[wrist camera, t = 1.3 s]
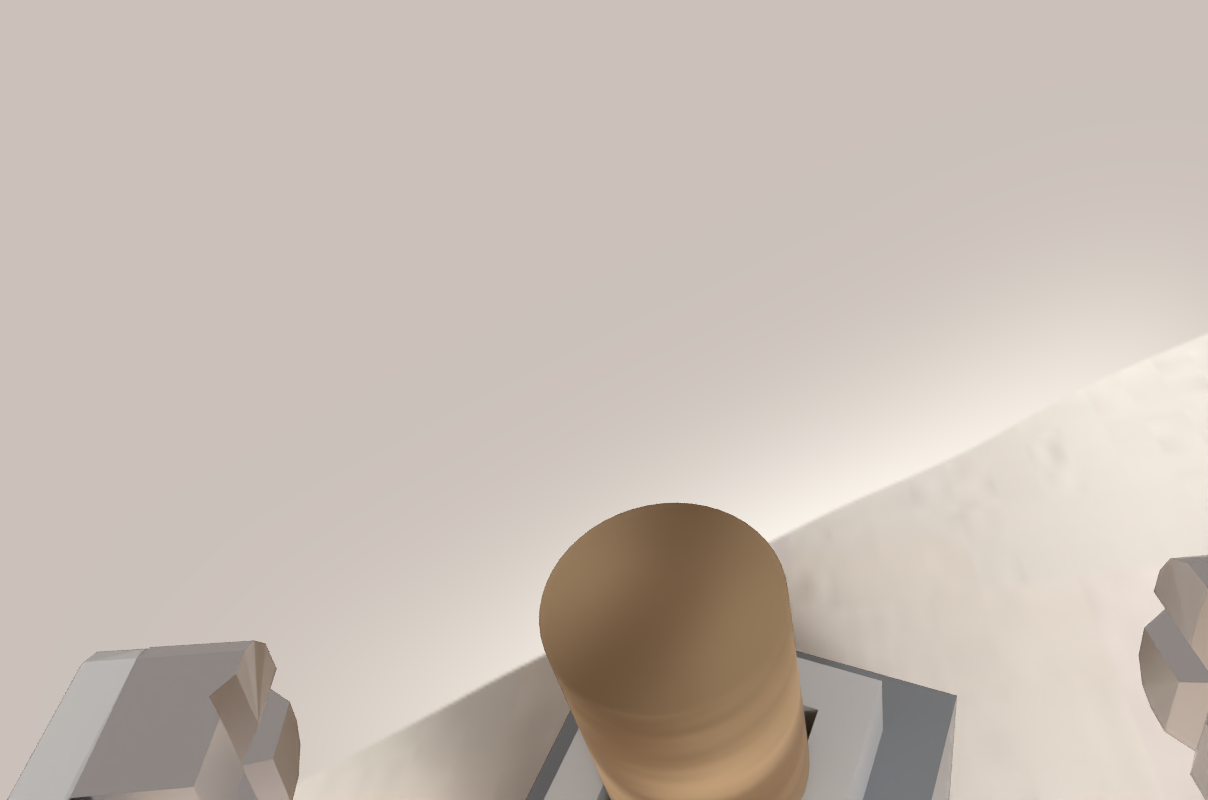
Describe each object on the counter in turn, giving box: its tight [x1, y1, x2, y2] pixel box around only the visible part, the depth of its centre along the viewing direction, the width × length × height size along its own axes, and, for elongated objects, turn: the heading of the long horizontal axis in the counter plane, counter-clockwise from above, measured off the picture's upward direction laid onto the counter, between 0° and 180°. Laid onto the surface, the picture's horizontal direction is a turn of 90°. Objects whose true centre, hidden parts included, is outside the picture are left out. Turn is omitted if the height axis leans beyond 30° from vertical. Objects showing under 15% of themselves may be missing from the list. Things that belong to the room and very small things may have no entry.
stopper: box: [539, 503, 810, 800], centre depth 28 cm, size 6×6×11 cm
